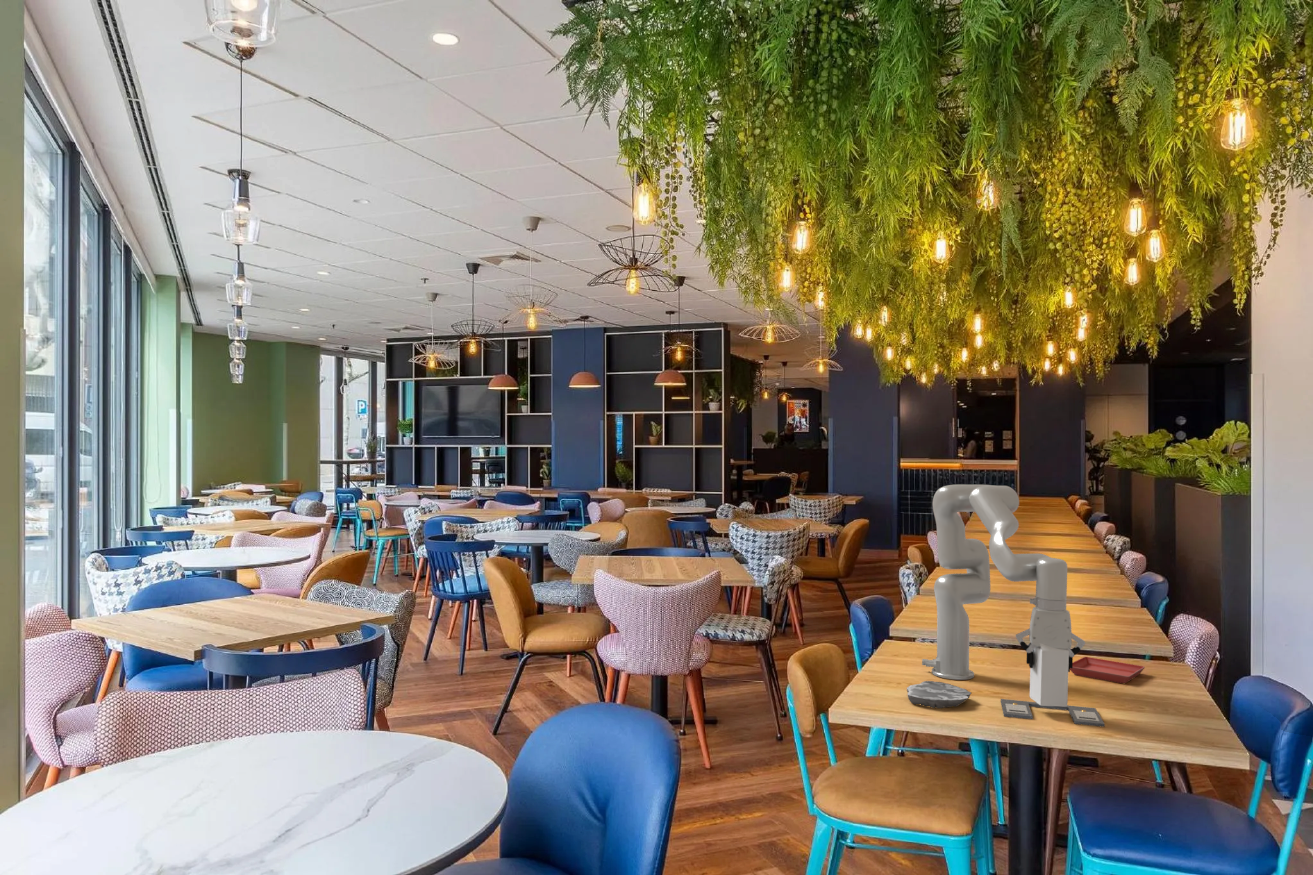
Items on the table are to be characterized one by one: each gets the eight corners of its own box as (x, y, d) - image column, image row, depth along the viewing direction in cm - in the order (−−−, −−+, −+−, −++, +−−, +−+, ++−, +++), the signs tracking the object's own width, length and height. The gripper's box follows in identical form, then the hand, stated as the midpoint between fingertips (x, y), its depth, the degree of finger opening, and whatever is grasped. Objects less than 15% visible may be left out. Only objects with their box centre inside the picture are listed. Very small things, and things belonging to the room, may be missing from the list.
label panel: (1003, 716, 226) (1004, 712, 226) (1000, 701, 240) (1000, 698, 240) (1104, 726, 219) (1104, 723, 219) (1095, 710, 232) (1095, 707, 232)
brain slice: (962, 715, 227) (962, 704, 227) (899, 705, 236) (899, 694, 236) (977, 697, 244) (977, 687, 244) (917, 688, 253) (917, 678, 253)
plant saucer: (1084, 665, 282) (1084, 655, 282) (1145, 676, 270) (1145, 665, 270) (1065, 675, 269) (1065, 665, 269) (1128, 687, 257) (1128, 676, 257)
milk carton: (1067, 707, 225) (1069, 635, 225) (1040, 706, 226) (1042, 635, 225) (1055, 698, 233) (1057, 629, 232) (1029, 697, 233) (1031, 628, 232)
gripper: (1017, 604, 228) (1015, 668, 228) (1088, 610, 222) (1087, 676, 223) (1014, 599, 235) (1013, 661, 235) (1084, 604, 229) (1082, 668, 230)
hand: (1049, 668), depth 229 cm, fingers closed on milk carton, 8 cm apart
